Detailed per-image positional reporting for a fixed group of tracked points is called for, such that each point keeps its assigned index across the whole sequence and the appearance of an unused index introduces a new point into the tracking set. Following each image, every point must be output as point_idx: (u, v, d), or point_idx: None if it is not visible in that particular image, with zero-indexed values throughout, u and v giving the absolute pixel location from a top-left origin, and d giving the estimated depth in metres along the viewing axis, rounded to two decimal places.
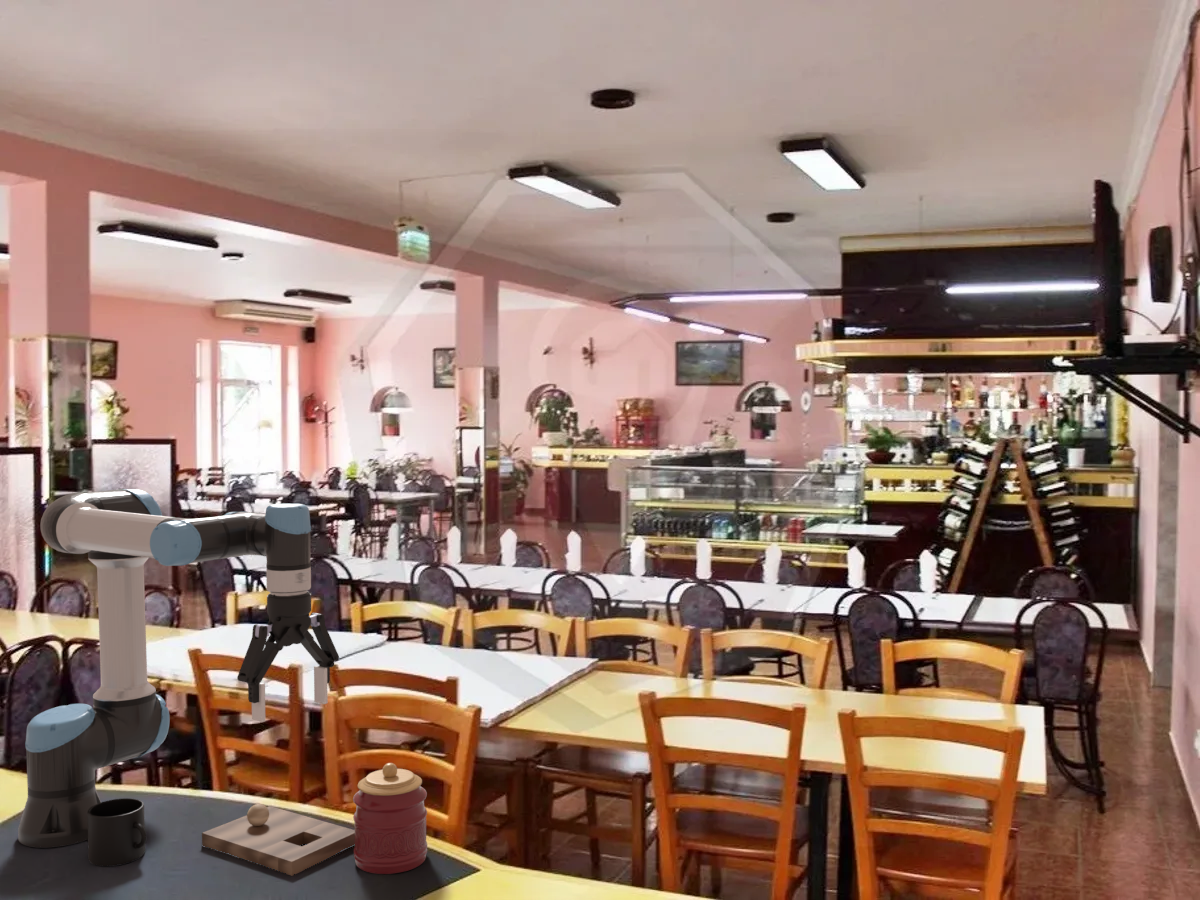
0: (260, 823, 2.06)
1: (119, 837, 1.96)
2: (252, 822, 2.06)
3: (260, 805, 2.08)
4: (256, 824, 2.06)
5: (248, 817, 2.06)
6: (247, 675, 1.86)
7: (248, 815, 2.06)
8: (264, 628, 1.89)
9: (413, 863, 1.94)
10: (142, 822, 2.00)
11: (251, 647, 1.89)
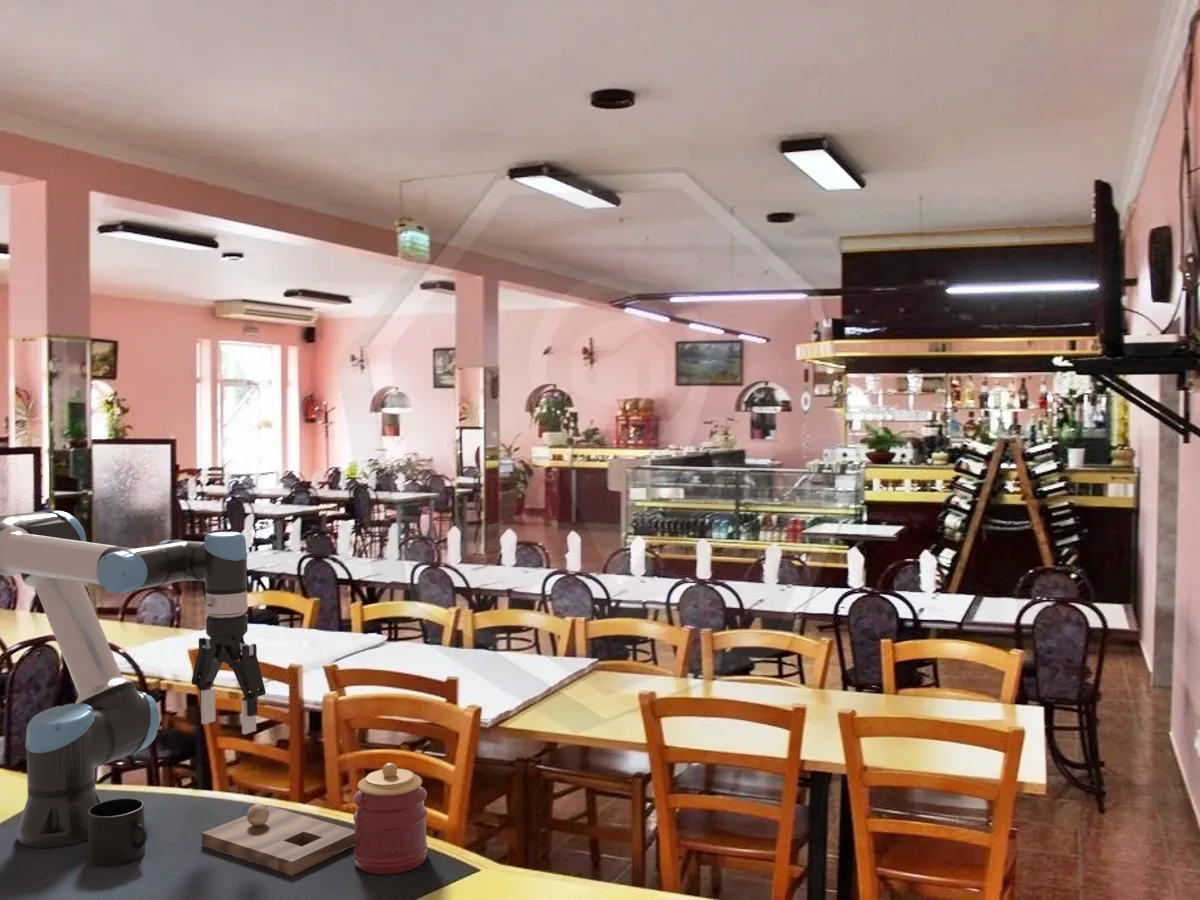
0: (260, 823, 2.06)
1: (119, 837, 1.96)
2: (252, 822, 2.06)
3: (260, 805, 2.08)
4: (256, 824, 2.06)
5: (248, 817, 2.06)
6: None
7: (248, 815, 2.06)
8: (199, 640, 2.13)
9: (413, 863, 1.94)
10: (142, 822, 2.00)
11: None
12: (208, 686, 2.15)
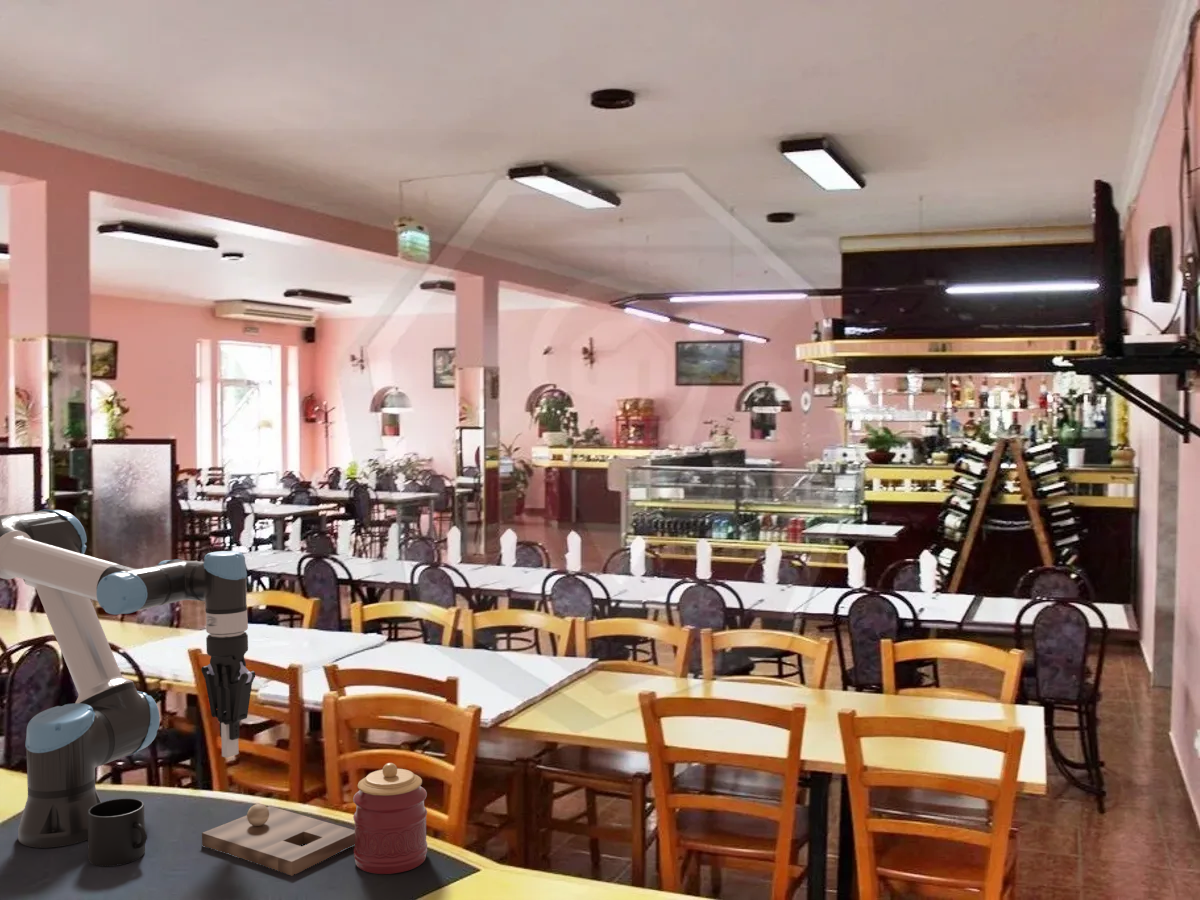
0: (260, 823, 2.06)
1: (119, 837, 1.96)
2: (252, 822, 2.06)
3: (260, 805, 2.08)
4: (256, 824, 2.06)
5: (248, 817, 2.06)
6: (211, 711, 2.12)
7: (248, 815, 2.06)
8: (202, 669, 2.13)
9: (413, 863, 1.94)
10: (142, 822, 2.00)
11: None
12: None
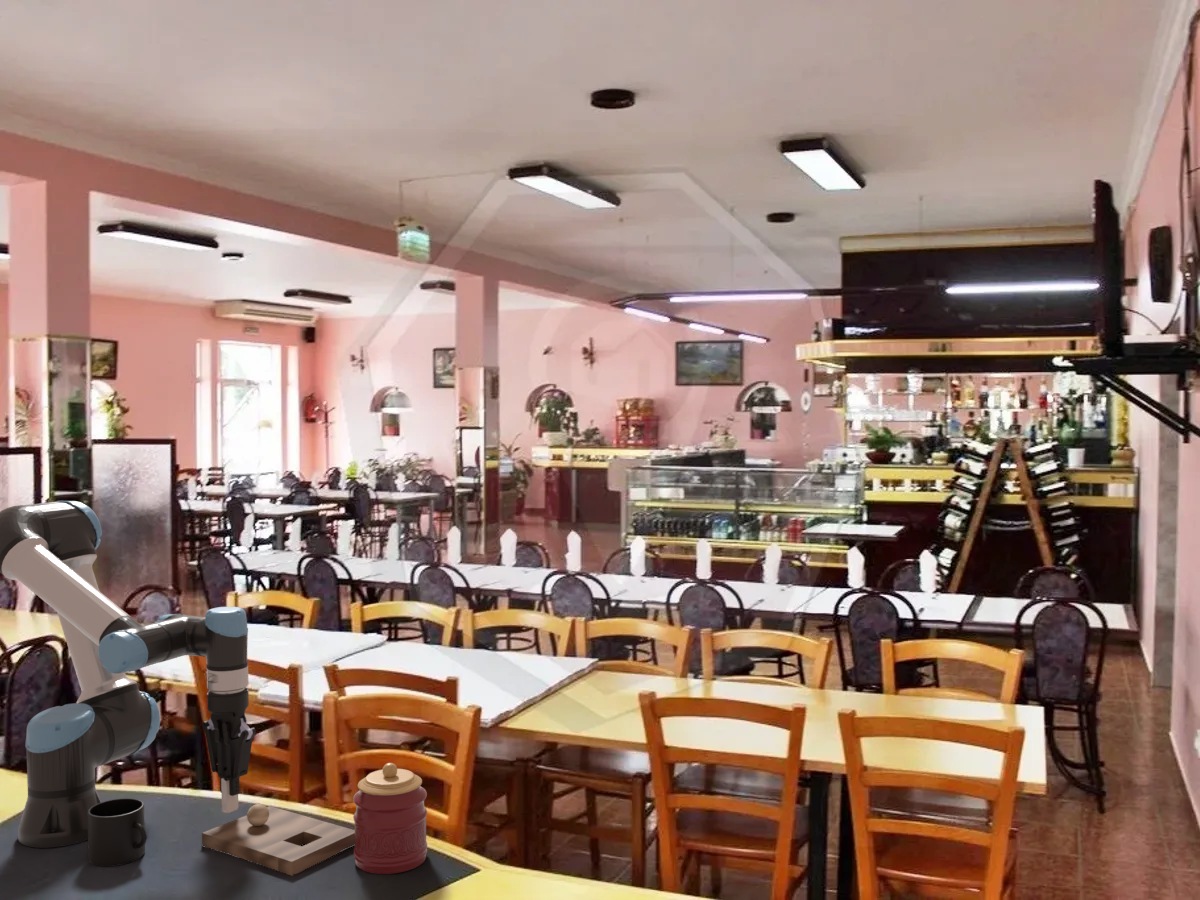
0: (260, 823, 2.06)
1: (119, 837, 1.96)
2: (252, 822, 2.06)
3: (260, 805, 2.08)
4: (256, 824, 2.06)
5: (248, 817, 2.06)
6: (211, 766, 2.13)
7: (248, 815, 2.06)
8: (202, 724, 2.13)
9: (413, 863, 1.94)
10: (142, 822, 2.00)
11: None
12: None
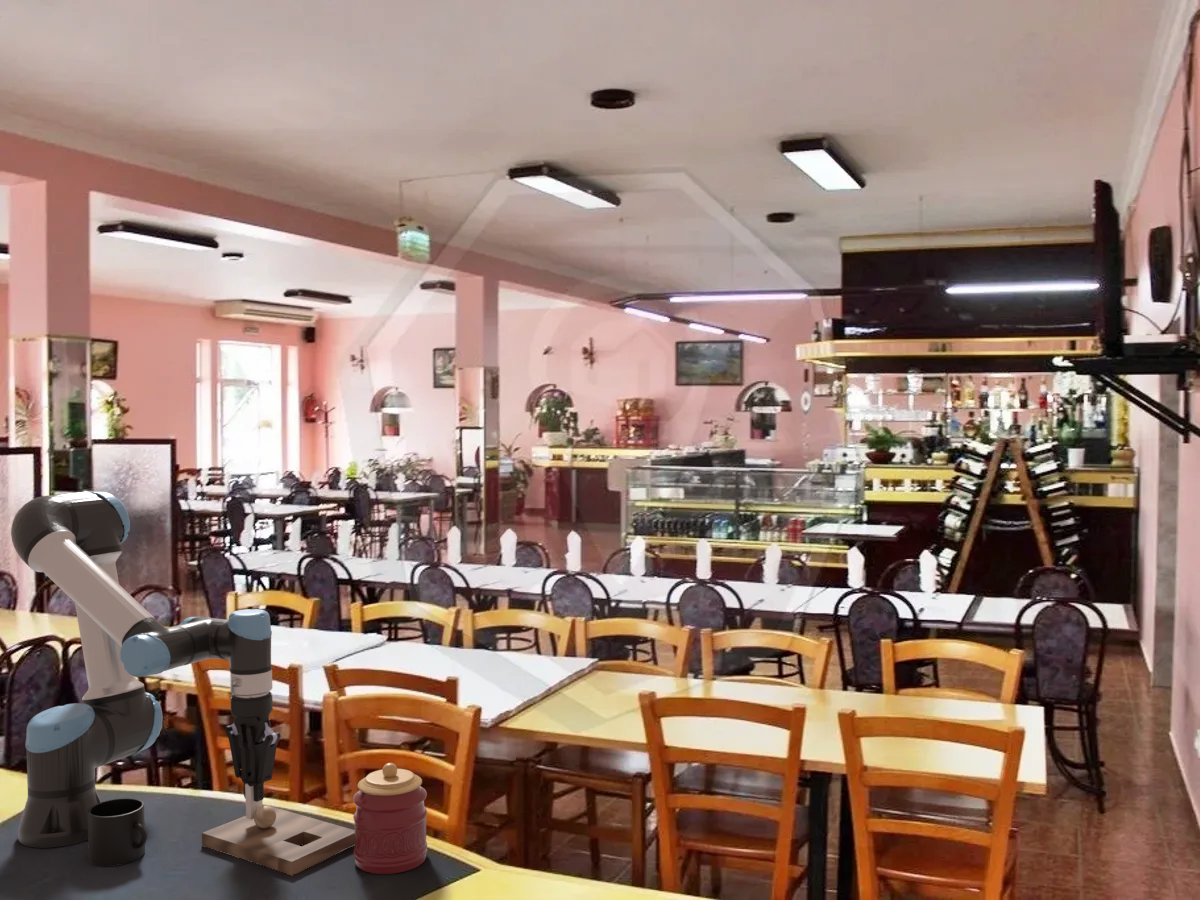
0: (262, 827, 2.06)
1: (119, 837, 1.96)
2: (256, 824, 2.05)
3: (272, 814, 2.06)
4: (258, 826, 2.06)
5: (256, 818, 2.05)
6: (235, 771, 2.09)
7: (257, 816, 2.05)
8: (226, 729, 2.10)
9: (413, 863, 1.94)
10: (142, 822, 2.00)
11: None
12: None
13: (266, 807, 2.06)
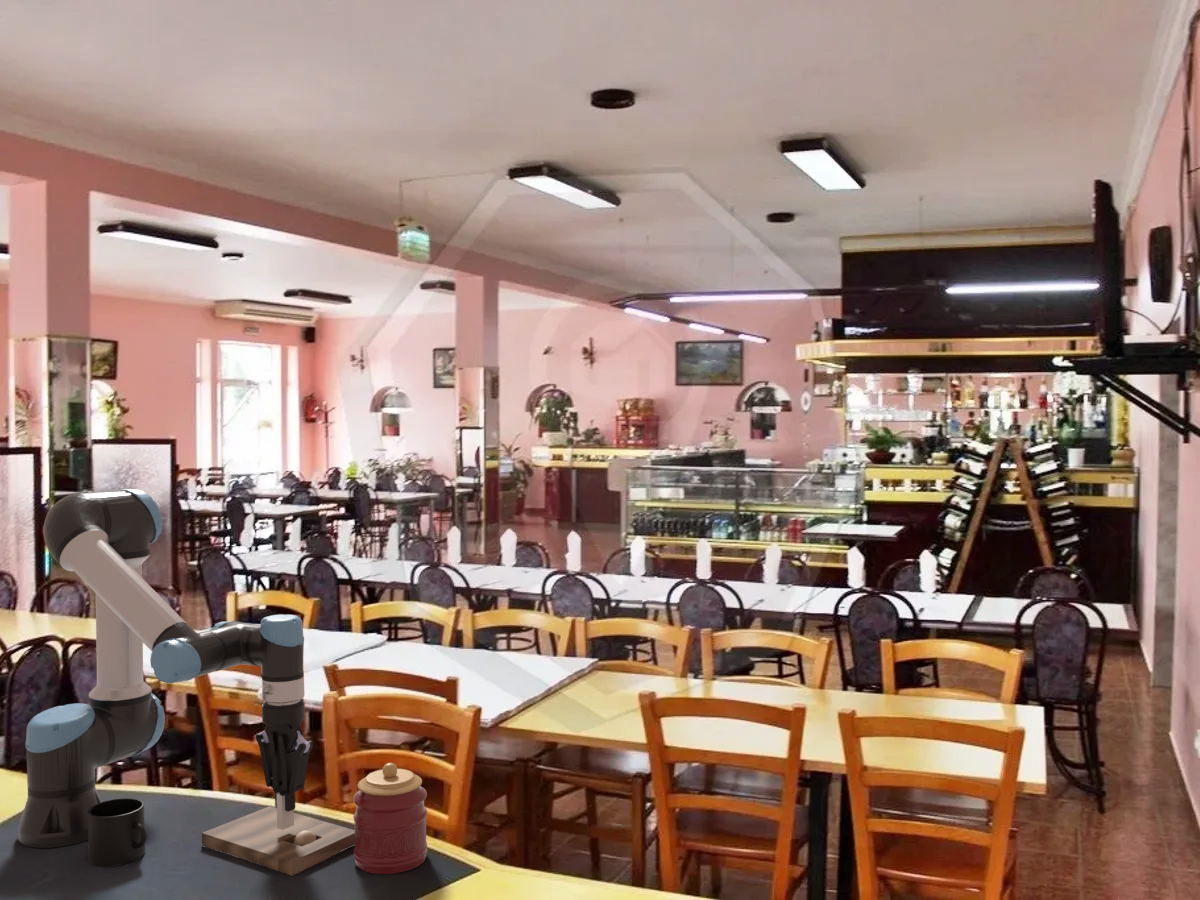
0: None
1: (119, 837, 1.96)
2: None
3: (312, 839, 2.00)
4: None
5: (296, 843, 2.00)
6: (266, 780, 2.05)
7: (297, 842, 2.00)
8: (256, 737, 2.05)
9: (413, 863, 1.94)
10: (142, 822, 2.00)
11: None
12: None
13: (306, 832, 2.01)
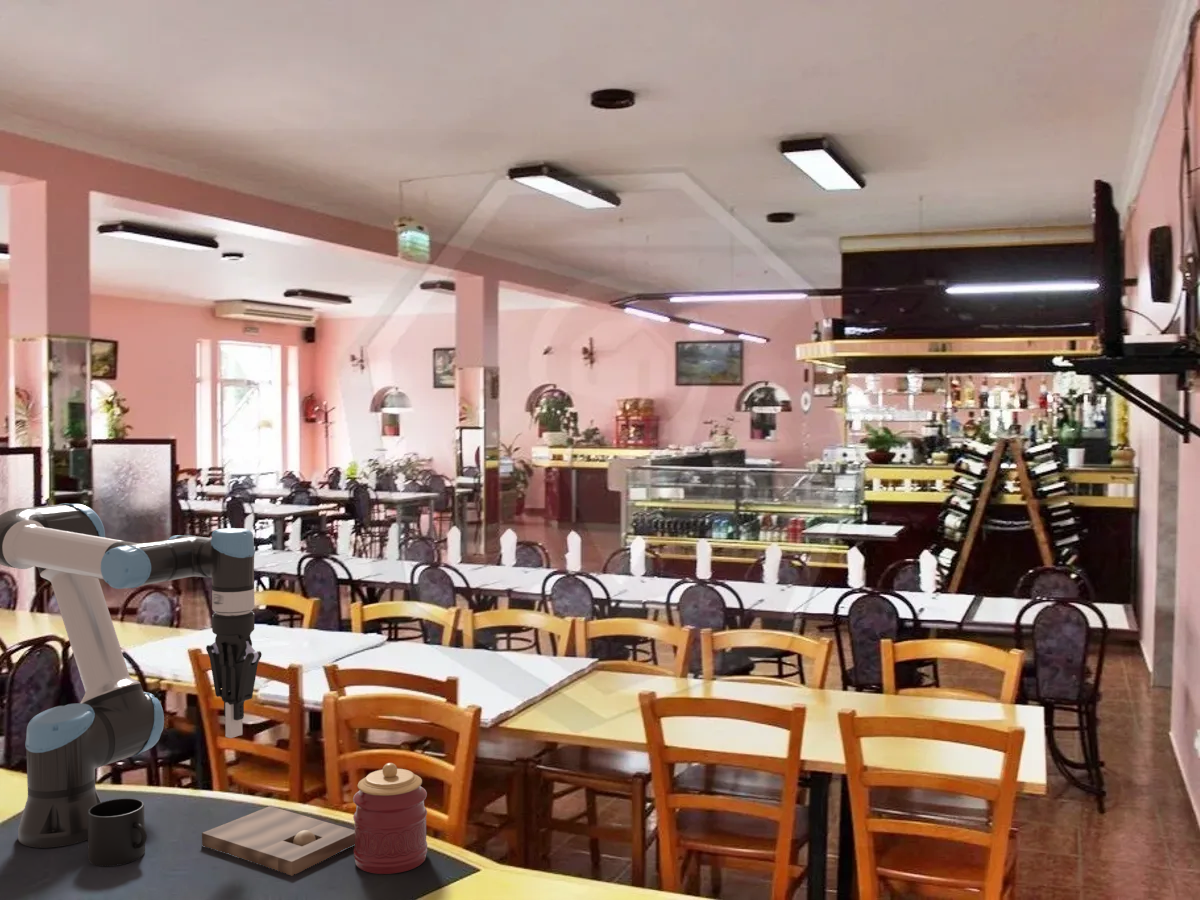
0: None
1: (119, 837, 1.96)
2: None
3: (311, 838, 2.01)
4: None
5: (295, 843, 2.00)
6: (215, 690, 2.08)
7: (296, 841, 2.00)
8: (207, 648, 2.09)
9: (413, 863, 1.94)
10: (142, 822, 2.00)
11: None
12: None
13: (304, 831, 2.01)
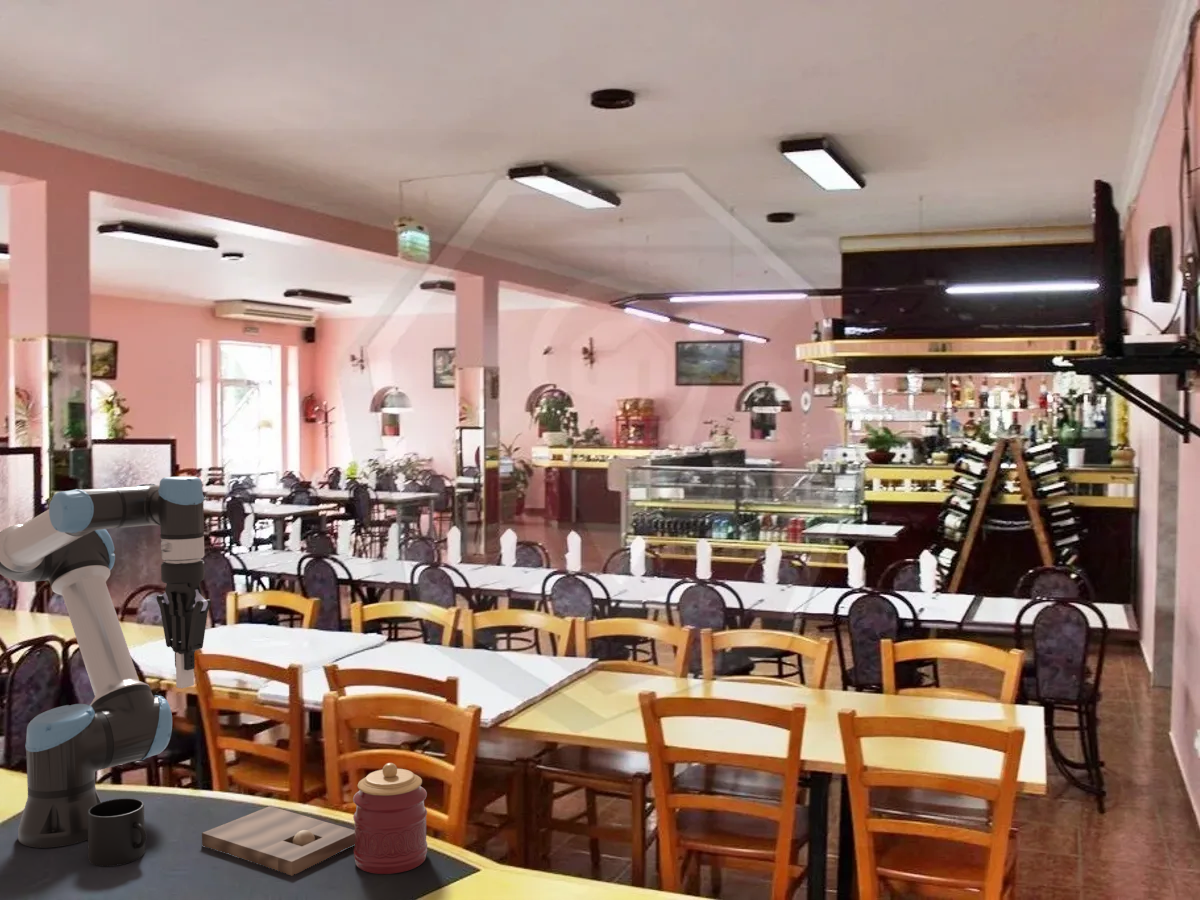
0: None
1: (119, 837, 1.96)
2: None
3: (310, 837, 2.01)
4: None
5: (294, 843, 2.00)
6: (166, 641, 2.06)
7: (295, 841, 2.00)
8: (157, 598, 2.07)
9: (413, 863, 1.94)
10: (142, 822, 2.00)
11: None
12: None
13: (303, 831, 2.01)
